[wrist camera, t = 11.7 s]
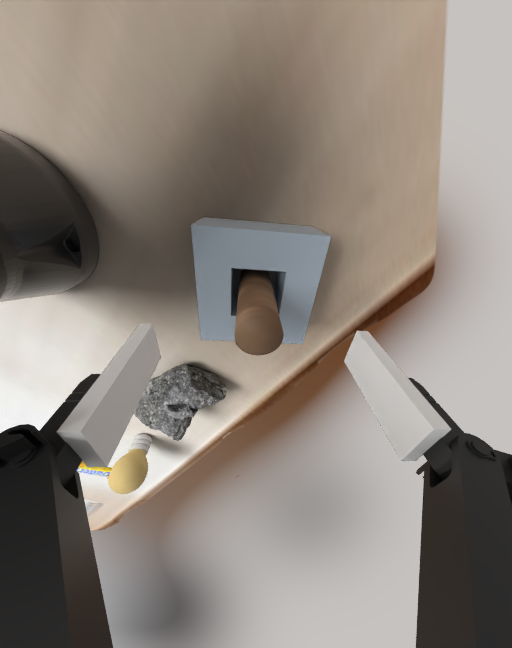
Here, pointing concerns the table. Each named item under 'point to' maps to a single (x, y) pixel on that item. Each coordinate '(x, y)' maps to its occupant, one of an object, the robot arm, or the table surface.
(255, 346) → the peg
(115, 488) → the light bulb
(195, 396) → the rock
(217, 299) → the socket
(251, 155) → the table surface
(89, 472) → the candy bar
